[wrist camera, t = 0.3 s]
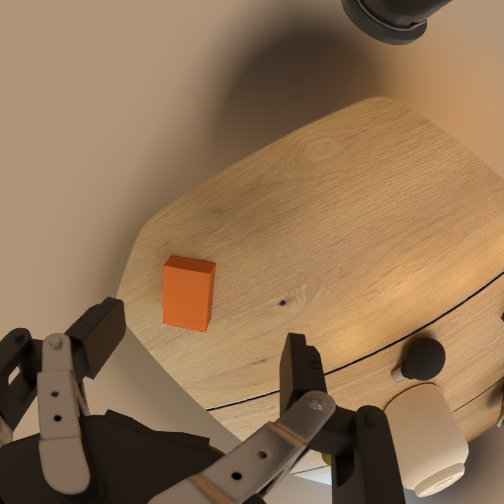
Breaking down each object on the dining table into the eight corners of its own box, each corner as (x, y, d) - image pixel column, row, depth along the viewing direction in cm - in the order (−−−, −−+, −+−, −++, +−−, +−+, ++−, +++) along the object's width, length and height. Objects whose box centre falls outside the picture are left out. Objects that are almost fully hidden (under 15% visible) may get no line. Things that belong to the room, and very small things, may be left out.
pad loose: (171, 255, 33) (162, 265, 30) (215, 263, 33) (210, 273, 30) (170, 311, 35) (162, 323, 33) (210, 319, 35) (205, 332, 33)
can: (391, 388, 38) (424, 484, 20) (448, 375, 37) (490, 454, 19) (374, 428, 43) (394, 510, 24) (426, 416, 42) (454, 488, 23)
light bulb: (384, 396, 33) (436, 368, 27) (377, 359, 38) (424, 327, 32) (408, 395, 35) (456, 368, 29) (401, 361, 40) (445, 332, 33)
